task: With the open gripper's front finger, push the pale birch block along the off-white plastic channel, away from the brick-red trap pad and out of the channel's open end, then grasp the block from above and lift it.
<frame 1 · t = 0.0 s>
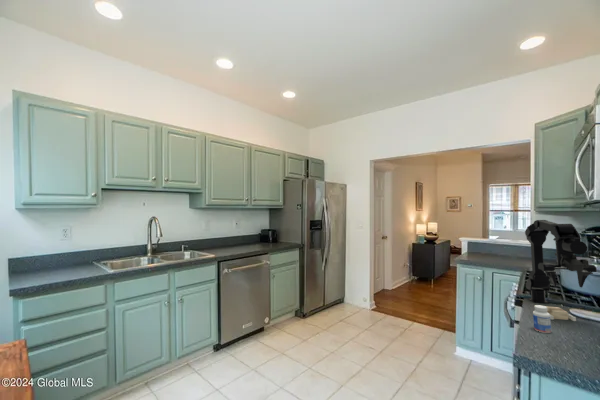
hand: (567, 286, 124), 15 cm above the worktop, tool pointing down, fingers open, 9 cm apart
birch block: (557, 317, 128), on the worktop
channel: (555, 315, 129), on the worktop
pill bottle: (542, 331, 114), on the worktop
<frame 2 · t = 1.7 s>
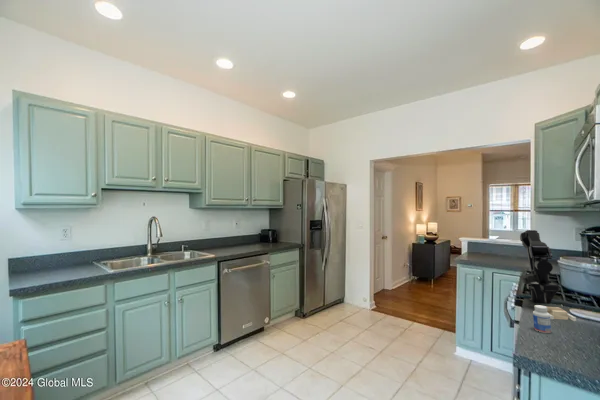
hand: (543, 300, 140), 4 cm above the worktop, tool pointing down, fingers open, 9 cm apart
nothing on the worktop moved.
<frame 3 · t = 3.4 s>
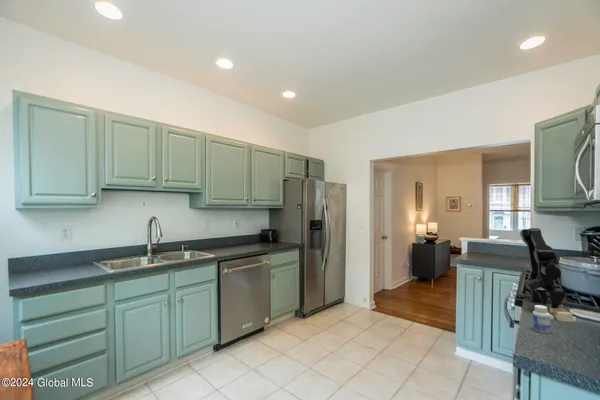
hand: (549, 307, 134), 2 cm above the worktop, tool pointing down, fingers open, 9 cm apart
birch block: (561, 318, 126), on the worktop, touching gripper
everything else where it was.
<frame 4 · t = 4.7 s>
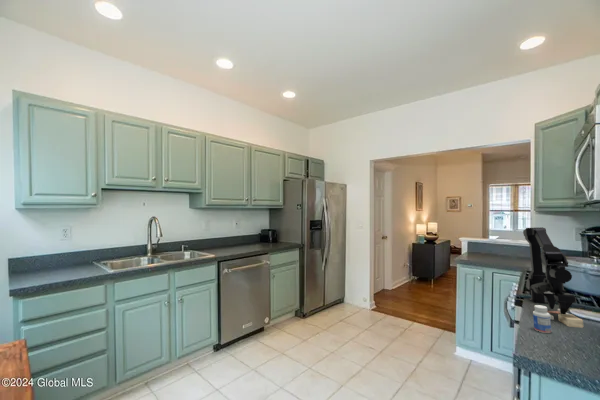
hand: (557, 312, 128), 2 cm above the worktop, tool pointing down, fingers open, 9 cm apart
birch block: (570, 325, 119), on the worktop, touching gripper
everything else where it was.
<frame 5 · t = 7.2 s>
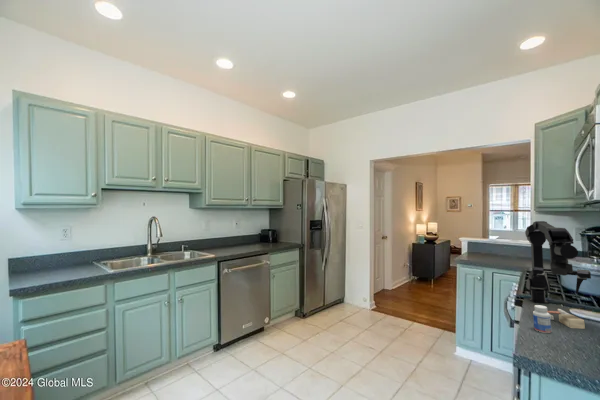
hand: (562, 291, 123), 13 cm above the worktop, tool pointing down, fingers open, 9 cm apart
birch block: (571, 325, 118), on the worktop
everything else where it was.
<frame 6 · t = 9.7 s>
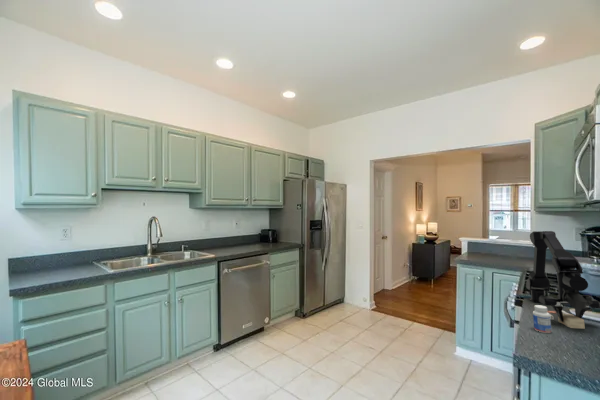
hand: (570, 322, 119), 1 cm above the worktop, tool pointing down, fingers closed on birch block, 5 cm apart
birch block: (571, 325, 118), on the worktop, touching gripper
everything else where it was.
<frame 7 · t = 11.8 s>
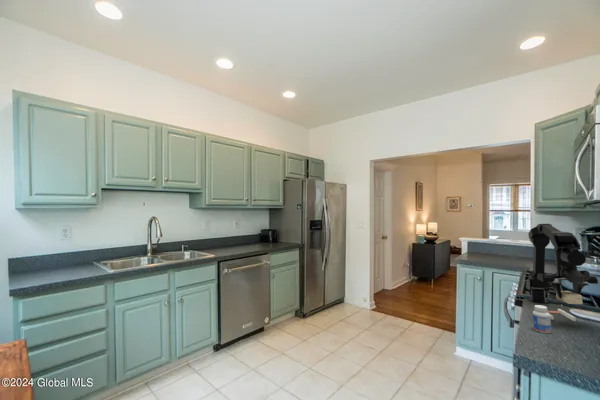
hand: (568, 298, 120), 11 cm above the worktop, tool pointing down, fingers closed on birch block, 5 cm apart
birch block: (569, 301, 119), point 10 cm above the worktop, touching gripper
everything else where it was.
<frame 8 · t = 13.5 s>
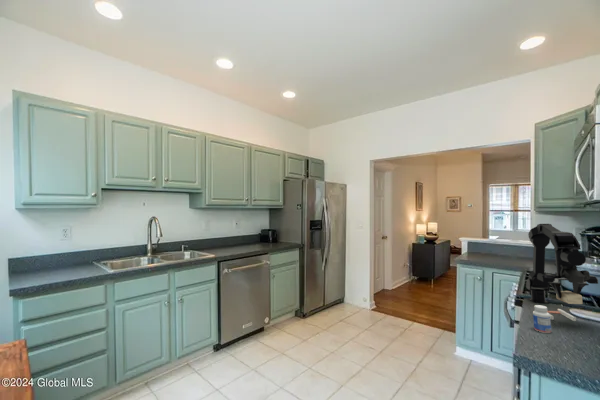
hand: (568, 298, 120), 11 cm above the worktop, tool pointing down, fingers closed on birch block, 5 cm apart
birch block: (569, 301, 119), point 10 cm above the worktop, touching gripper
everything else where it was.
at the end: the gripper is holding birch block; birch block inside the target area (0.1 cm from its centre), point 9.9 cm above the worktop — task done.
